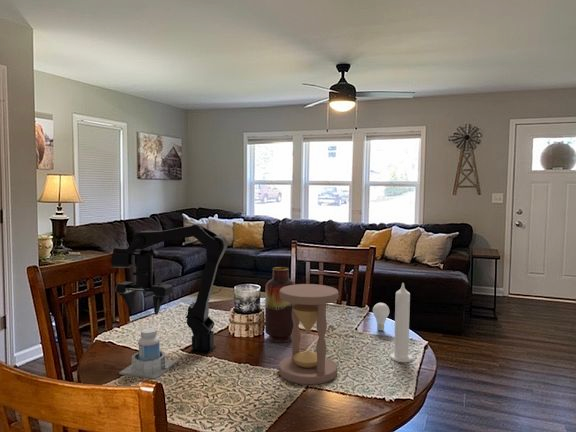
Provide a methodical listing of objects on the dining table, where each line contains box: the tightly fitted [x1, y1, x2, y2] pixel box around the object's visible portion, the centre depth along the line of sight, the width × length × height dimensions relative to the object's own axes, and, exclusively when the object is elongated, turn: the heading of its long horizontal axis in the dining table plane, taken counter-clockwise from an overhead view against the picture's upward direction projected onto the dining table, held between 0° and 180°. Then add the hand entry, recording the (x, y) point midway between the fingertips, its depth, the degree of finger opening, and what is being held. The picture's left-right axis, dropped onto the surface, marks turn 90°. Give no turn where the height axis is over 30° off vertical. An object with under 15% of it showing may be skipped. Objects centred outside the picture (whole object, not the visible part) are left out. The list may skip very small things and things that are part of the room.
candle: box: [389, 282, 413, 363], centre depth 144 cm, size 7×7×25 cm
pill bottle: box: [138, 327, 161, 361], centre depth 135 cm, size 6×6×11 cm
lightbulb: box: [372, 302, 390, 332], centre depth 173 cm, size 6×6×11 cm
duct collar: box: [118, 349, 177, 380], centre depth 135 cm, size 12×12×4 cm
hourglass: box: [278, 283, 340, 386], centre depth 133 cm, size 18×18×25 cm
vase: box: [264, 266, 296, 344], centre depth 162 cm, size 11×11×26 cm
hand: (144, 313), depth 152 cm, fingers open, 9 cm apart
